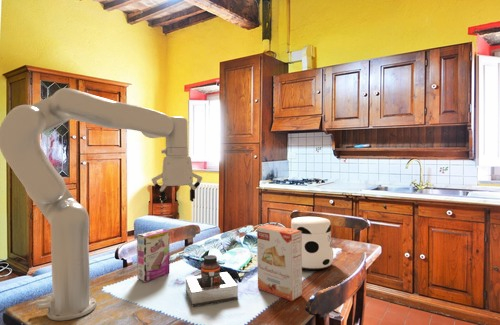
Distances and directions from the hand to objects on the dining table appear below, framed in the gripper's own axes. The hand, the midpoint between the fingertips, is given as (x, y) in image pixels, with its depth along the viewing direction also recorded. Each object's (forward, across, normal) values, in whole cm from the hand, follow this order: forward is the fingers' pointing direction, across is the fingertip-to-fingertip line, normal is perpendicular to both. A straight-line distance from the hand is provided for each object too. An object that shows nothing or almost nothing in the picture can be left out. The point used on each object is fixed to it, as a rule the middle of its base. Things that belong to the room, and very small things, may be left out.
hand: (177, 201), depth 115 cm
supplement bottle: (+27, +8, -15) cm, 32 cm away
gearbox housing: (+28, +8, -15) cm, 33 cm away
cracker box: (+28, +29, -21) cm, 46 cm away
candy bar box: (+28, -8, +8) cm, 31 cm away
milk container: (+28, +51, -2) cm, 58 cm away
